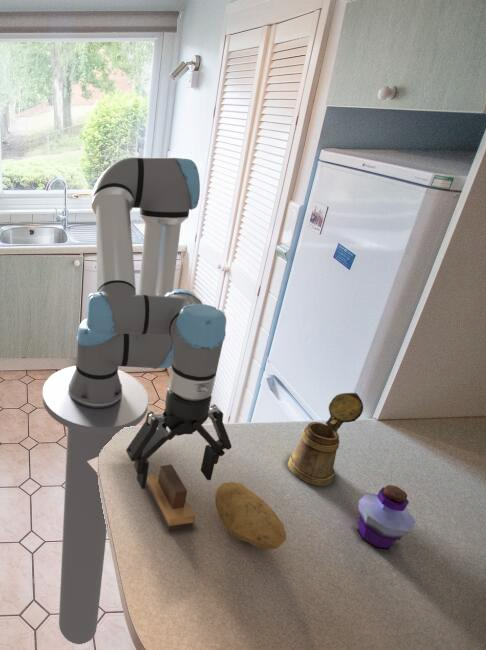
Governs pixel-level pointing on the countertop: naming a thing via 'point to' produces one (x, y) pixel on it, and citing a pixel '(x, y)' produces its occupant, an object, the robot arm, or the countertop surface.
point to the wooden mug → (324, 441)
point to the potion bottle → (384, 517)
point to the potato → (249, 516)
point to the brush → (170, 498)
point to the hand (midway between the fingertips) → (173, 479)
